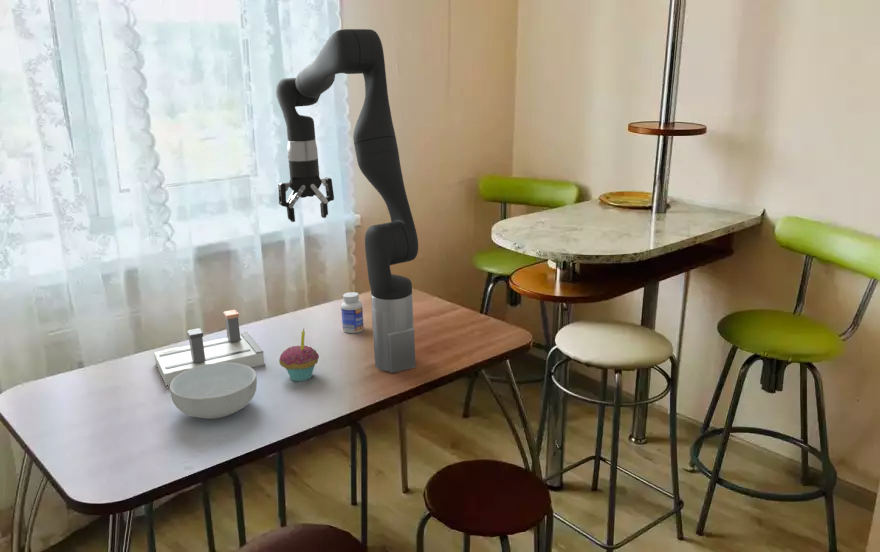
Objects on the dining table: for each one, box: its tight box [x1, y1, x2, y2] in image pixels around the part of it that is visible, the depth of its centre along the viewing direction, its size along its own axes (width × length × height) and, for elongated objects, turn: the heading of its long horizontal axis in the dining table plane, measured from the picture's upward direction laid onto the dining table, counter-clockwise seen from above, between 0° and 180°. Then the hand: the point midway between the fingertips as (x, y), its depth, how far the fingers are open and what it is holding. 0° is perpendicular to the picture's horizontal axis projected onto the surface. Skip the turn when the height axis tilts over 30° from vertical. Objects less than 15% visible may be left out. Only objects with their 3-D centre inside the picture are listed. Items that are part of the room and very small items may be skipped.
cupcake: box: [278, 328, 320, 382], centre depth 163 cm, size 9×8×12 cm
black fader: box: [186, 327, 205, 363], centre depth 165 cm, size 3×3×7 cm
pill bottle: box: [340, 291, 364, 334], centre depth 189 cm, size 5×5×10 cm
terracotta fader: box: [223, 309, 241, 342], centre depth 177 cm, size 3×3×7 cm
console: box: [153, 331, 265, 387], centre depth 172 cm, size 14×22×3 cm, turn 119°
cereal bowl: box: [169, 363, 258, 420], centre depth 149 cm, size 17×17×7 cm
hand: (308, 219), depth 194 cm, fingers open, 8 cm apart
